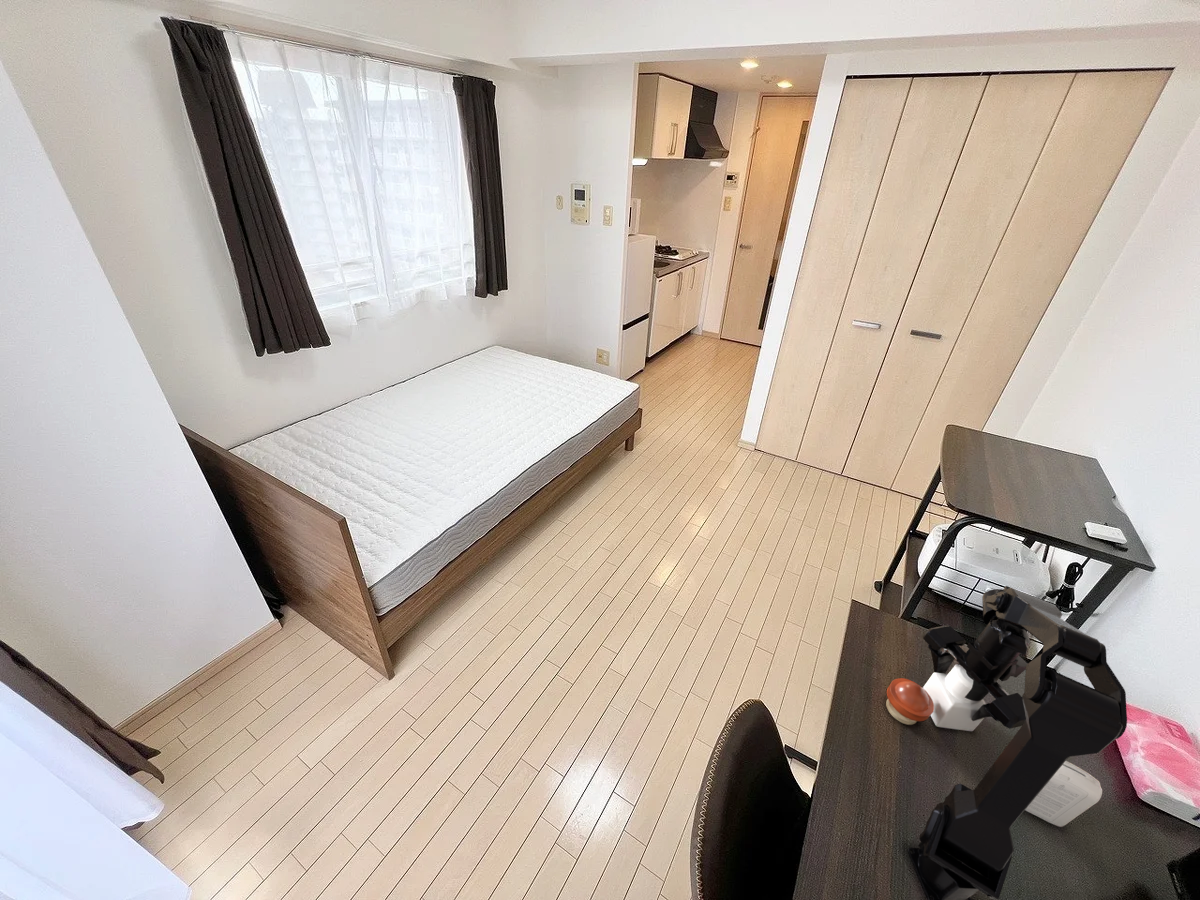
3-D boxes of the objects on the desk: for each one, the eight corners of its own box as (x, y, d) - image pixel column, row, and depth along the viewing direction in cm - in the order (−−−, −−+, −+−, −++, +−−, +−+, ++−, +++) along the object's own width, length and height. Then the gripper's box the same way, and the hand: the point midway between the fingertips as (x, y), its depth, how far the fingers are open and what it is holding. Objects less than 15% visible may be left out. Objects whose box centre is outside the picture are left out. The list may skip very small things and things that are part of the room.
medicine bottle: (953, 697, 98) (982, 660, 92) (973, 732, 92) (1005, 696, 86) (918, 692, 99) (944, 656, 92) (935, 727, 93) (965, 690, 86)
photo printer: (1059, 807, 82) (1105, 772, 76) (1065, 833, 79) (1113, 798, 73) (989, 772, 86) (1026, 736, 80) (992, 795, 83) (1031, 760, 77)
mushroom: (931, 731, 92) (948, 710, 88) (892, 729, 92) (908, 707, 88) (910, 693, 98) (925, 672, 95) (873, 691, 98) (887, 669, 94)
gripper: (1084, 689, 79) (1032, 738, 88) (984, 600, 95) (948, 650, 103) (1034, 701, 77) (985, 751, 85) (939, 608, 92) (905, 658, 100)
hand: (955, 698), depth 93 cm, fingers closed on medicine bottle, 8 cm apart
